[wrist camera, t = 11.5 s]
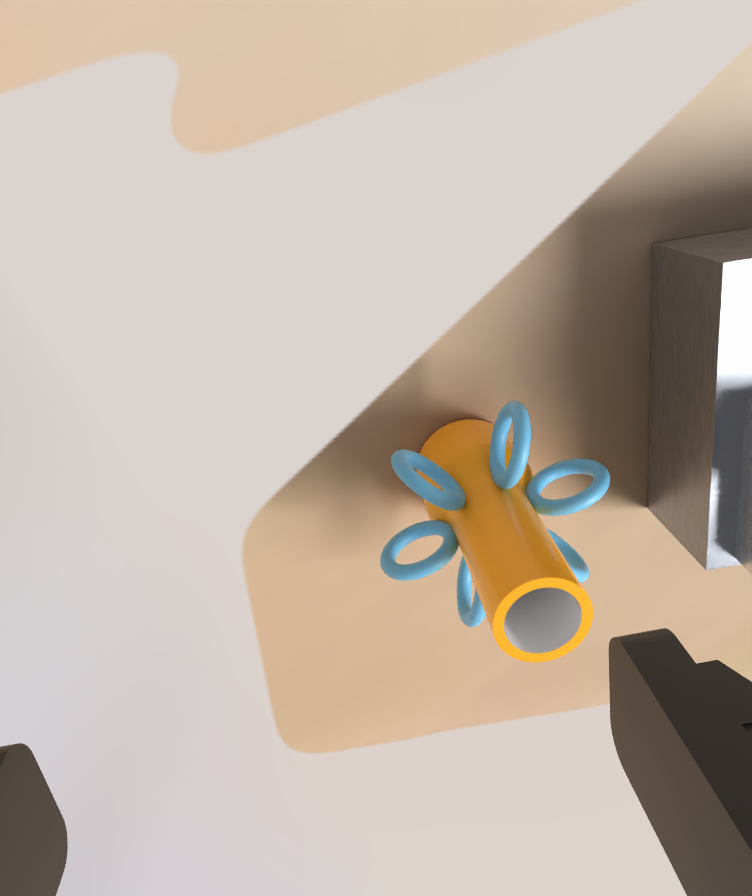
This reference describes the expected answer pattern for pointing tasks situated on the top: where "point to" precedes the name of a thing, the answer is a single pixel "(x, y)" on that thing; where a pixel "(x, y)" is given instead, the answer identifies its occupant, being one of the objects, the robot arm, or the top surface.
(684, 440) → the grey boxy piece
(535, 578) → the cylinder
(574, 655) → the top surface
